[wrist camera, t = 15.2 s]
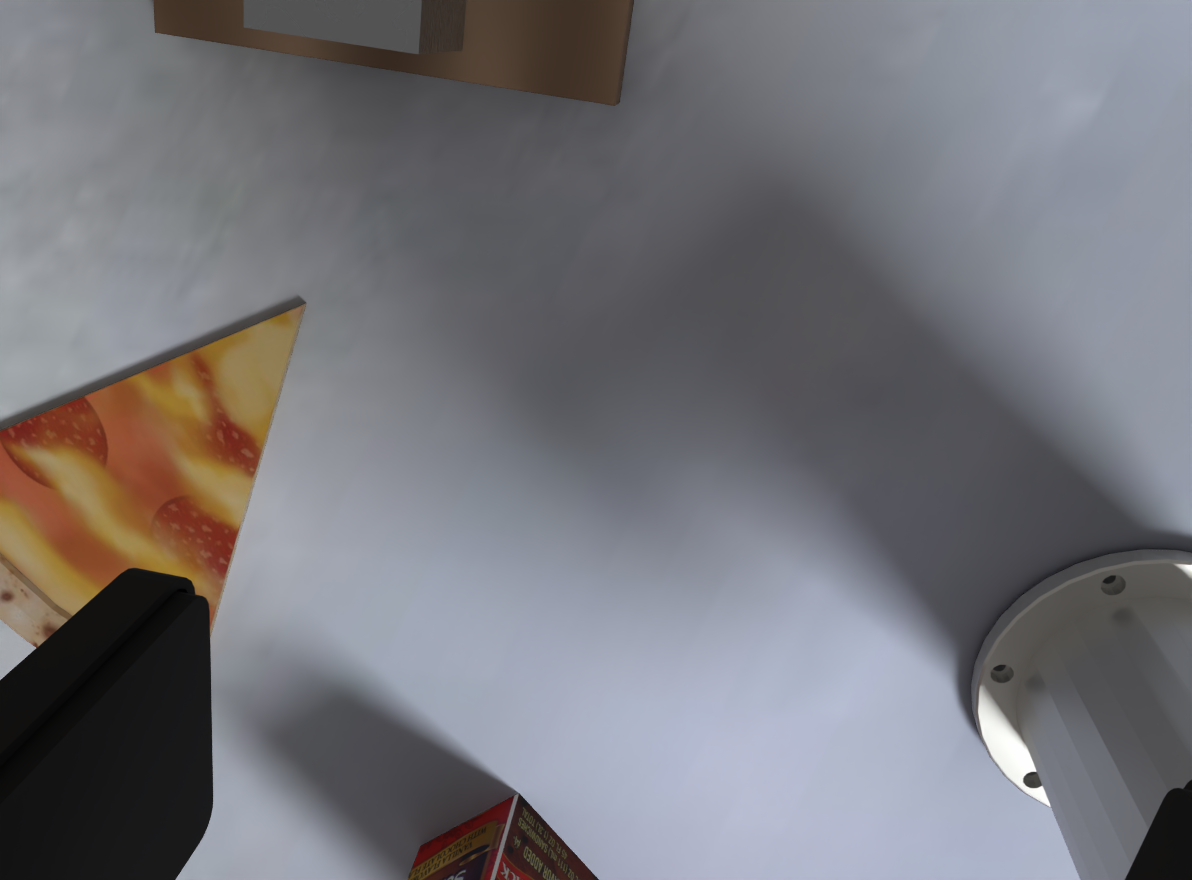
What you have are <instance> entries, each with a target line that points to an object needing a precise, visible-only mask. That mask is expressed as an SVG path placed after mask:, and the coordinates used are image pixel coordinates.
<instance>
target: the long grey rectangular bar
mask: <svg viewBox="0 0 1192 880" xmlns="http://www.w3.org/2000/svg"><path fill="white" fill-rule="evenodd" d="M466 1H467V0H244V28H250V29H257V30H263V31H270V32H276V33H283V34H289V35H296V36H302V37H309V38H315V39H322V40H328V41H335V42H341V43H348V44H354V45H361V46H367V47H374V48H380V49H387V50H393V51H400V52H406V53H413V54H429V53H441V52H453V51H463V40H464V27H465V14H466Z"/></svg>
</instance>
